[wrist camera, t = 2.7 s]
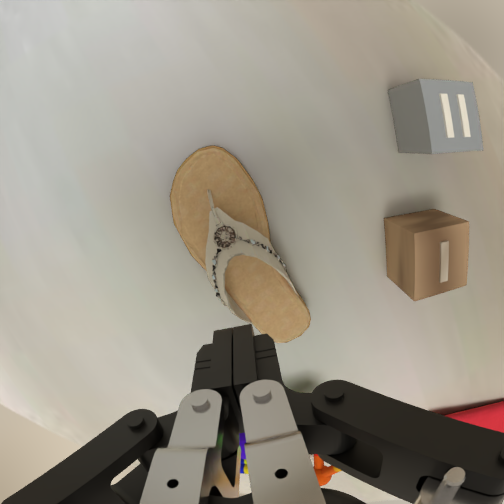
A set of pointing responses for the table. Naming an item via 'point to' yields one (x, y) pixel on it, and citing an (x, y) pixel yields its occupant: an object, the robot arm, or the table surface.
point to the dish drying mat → (483, 416)
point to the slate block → (436, 117)
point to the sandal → (235, 243)
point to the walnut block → (427, 252)
